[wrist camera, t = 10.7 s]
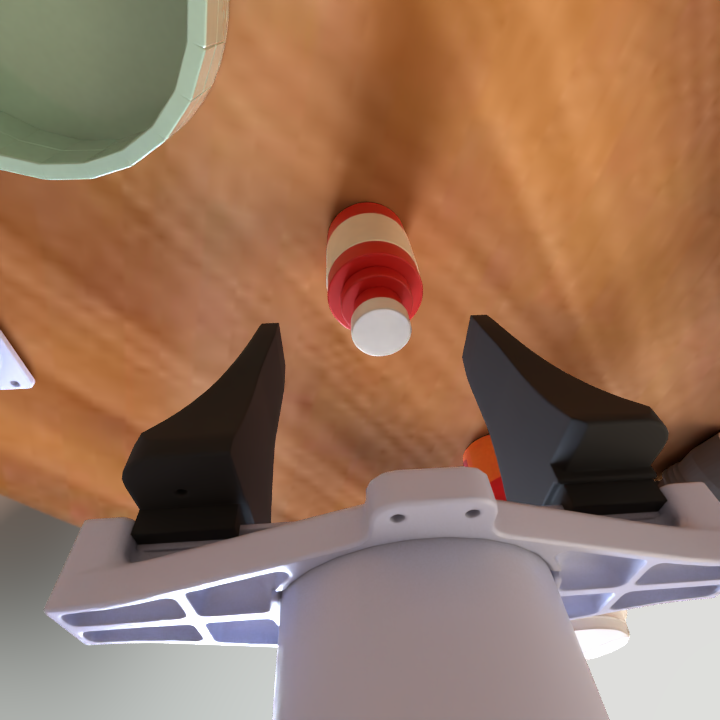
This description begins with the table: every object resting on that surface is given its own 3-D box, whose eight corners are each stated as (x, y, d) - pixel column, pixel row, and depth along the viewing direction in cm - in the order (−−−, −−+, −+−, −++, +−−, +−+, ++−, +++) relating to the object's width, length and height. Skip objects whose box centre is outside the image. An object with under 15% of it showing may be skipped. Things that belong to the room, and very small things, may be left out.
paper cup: (517, 482, 38) (591, 668, 28) (437, 477, 37) (483, 670, 26) (560, 426, 33) (670, 624, 23) (470, 417, 32) (542, 624, 21)
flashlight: (605, 524, 45) (633, 577, 40) (569, 513, 43) (595, 568, 39) (748, 439, 36) (802, 495, 32) (711, 422, 34) (763, 479, 30)
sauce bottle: (328, 277, 24) (329, 376, 17) (324, 201, 21) (323, 286, 15) (402, 274, 24) (430, 372, 18) (408, 199, 21) (443, 283, 15)
